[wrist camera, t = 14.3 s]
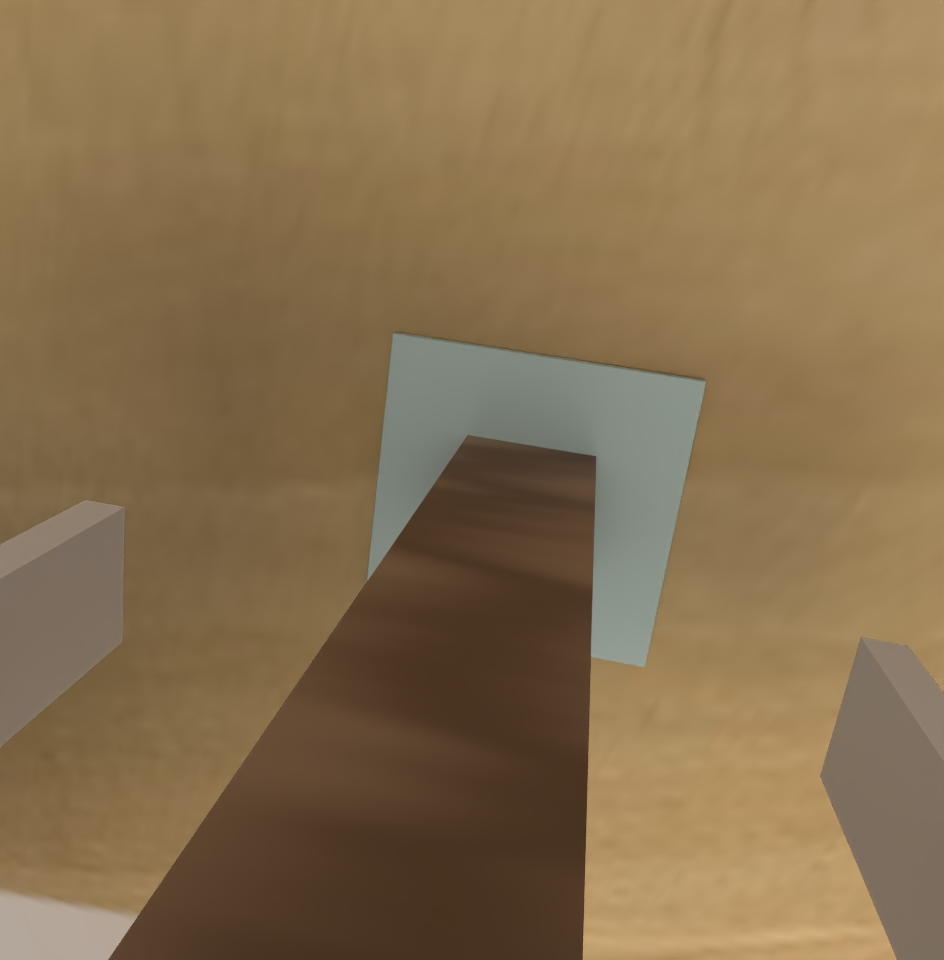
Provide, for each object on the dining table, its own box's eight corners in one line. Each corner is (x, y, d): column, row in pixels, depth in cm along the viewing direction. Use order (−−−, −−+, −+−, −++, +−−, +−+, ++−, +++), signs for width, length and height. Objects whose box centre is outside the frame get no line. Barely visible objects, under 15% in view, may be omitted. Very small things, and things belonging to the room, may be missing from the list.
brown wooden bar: (451, 554, 23) (42, 1411, 6) (467, 435, 22) (35, 1066, 5) (574, 576, 23) (494, 1545, 6) (596, 456, 22) (576, 1203, 5)
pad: (366, 608, 25) (363, 614, 24) (396, 332, 22) (393, 333, 22) (644, 660, 24) (645, 667, 24) (704, 379, 22) (706, 382, 21)
